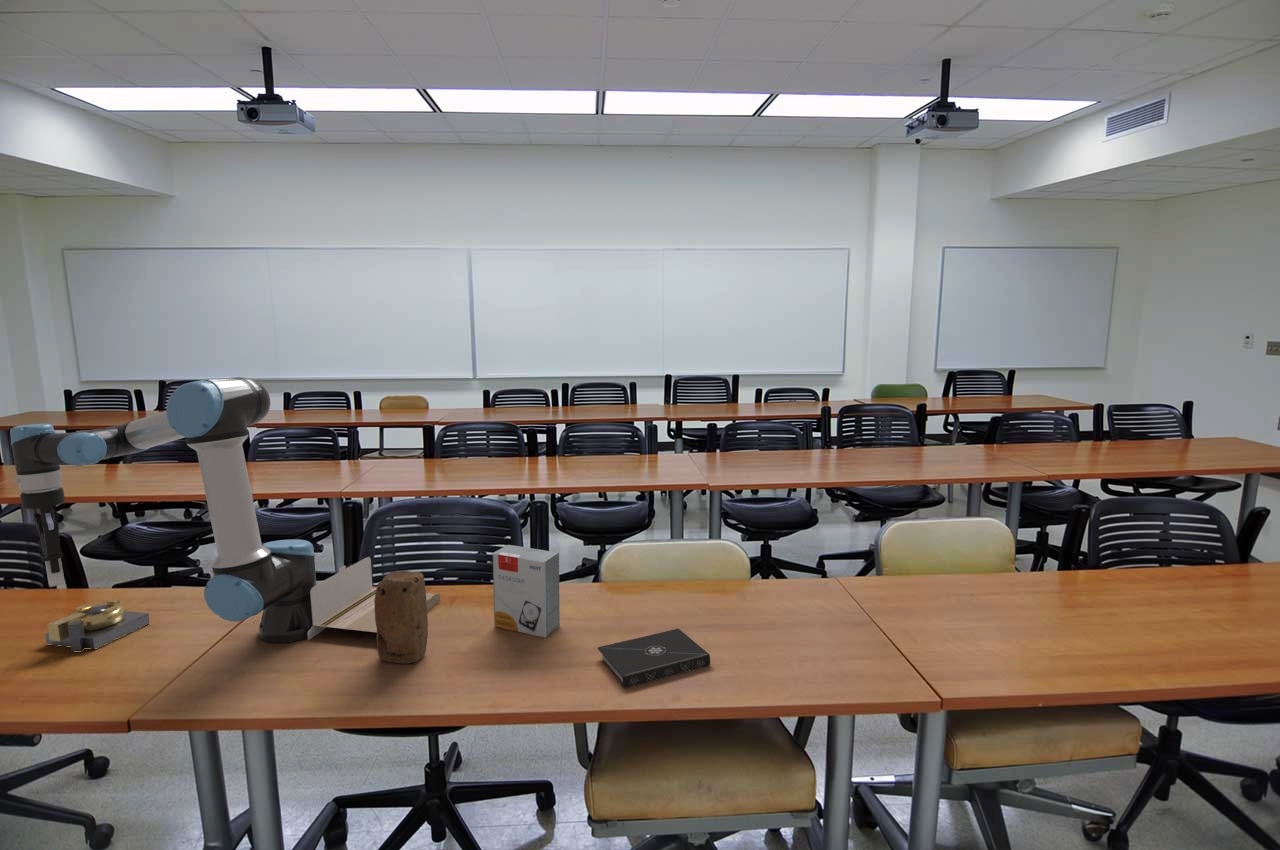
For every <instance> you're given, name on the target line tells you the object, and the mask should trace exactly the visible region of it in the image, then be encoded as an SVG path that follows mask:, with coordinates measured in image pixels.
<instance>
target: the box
mask: <svg viewBox="0 0 1280 850" xmlns="http://www.w3.org/2000/svg"><path fill="white" fill-rule="evenodd" d="M371 559H372V558H371V557H370V556H367V557H365V558H362V559H361V560H359V561H358V562H356V563H353V564H352V565H350V566H348V567H347V566H346V565H342V566H341V567H339V568H338V572H337V573H335V574H333V575H332V576H330V577H328V578H326V579H324V580H323V581H320V582H319V583H316V585H315V586H314V587H313V588H312V589H311V591H310V595H311V608H312V620H313V626H312V627H311V629H310V630H309V631H308V632H307V634H308V637H307V641H310V640H311V639H313V638H314V637H315V636H317V635H319V634H320V633H321V632H322V631H324V630H326V629H327V628H334V629H340V630H341V629H342V630H349V631H350V630H352V631H361V632H369V633H370V632H371V633H377V627H376V621H375V605H374V599H375V593H376V589H377V587H373V576H372V562H371V561H372V560H371ZM440 601H441V600H440V592H438V593H429V592H426V602H427V612H428V611H429V610H430V609H432V608H433V607H434V606H436V605H437V604H438V603H439V602H440Z"/></svg>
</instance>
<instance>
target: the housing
mask: <svg viewBox="0 0 1280 850" xmlns="http://www.w3.org/2000/svg"><path fill="white" fill-rule="evenodd" d="M123 611H124V618H123V619H122V620H121V621H119V622H117V623H115V624H113V625H110V626H107V627H104V628H100V629H96V630H90V631H84V624H83V621H73V622H72V623H70V624H69V625H68V631H69V638H67V639H64V640H62V641H52V640H50V638H49V631H48V632H46V633H45V634H44V637H45V642H46V643H45V644H46V645H47V644H52V645H61V646H71V648H70V652H74V651H82V650H83V649H84V648H91V649H95V648H98V647H100V646H102V645H104V644H106V643H109V642H111V641H113V640H114V639H116V638H119V637H121V636H123V635H125V634H128V633H130V632H132V631H134V630H136V631H138V630H137V629H138V628H140V627H142V626H145V625H146V624H149V623H150V616H149V615H150V614H149V612H138V611H129V610H123ZM149 625H150V624H149ZM145 627H146V626H145ZM134 632H135V631H134ZM132 633H133V632H132ZM130 634H131V633H130ZM128 635H129V634H128ZM113 642H114V641H113ZM111 643H112V642H111ZM109 644H110V643H109ZM82 652H83V651H82Z"/></svg>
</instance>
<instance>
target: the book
mask: <svg viewBox="0 0 1280 850" xmlns="http://www.w3.org/2000/svg"><path fill="white" fill-rule="evenodd" d="M597 649H598V651H599V652H600V653H601V655H602V659H603V661H604V662H605V663H606V664H607V666H609V668H610V669H611V670H612V672H613V673H615V674H616V676H617V678H619V680H620V681H621V682H622V688H623V689H628V688H631V687H634V685H635V686H639V685H641V684H642V683H643V684H646V683H650V682H653V680H654V681H657V680H660V678H661V679H664V677H665V678H668V677H667V676H669V677H672V676H675V675H676V676H677V675H680V674H682V673H683V674H684V673H687V672H690V671H689V670H691V671H694V669H695V670H697V669H702V668H705V666H706V667H709V666H708V665H711V655H710V653H708V652H707V650H705V649H704V648H702V647H701V646H700V645H699V644H697V642H696V641H694V640H693V639H692V638H691V637H689V636H688V635H687V634H686V633H685V632H683V630H682V629H680V628H676V629H675V628H674V629H671V630H666V631H661V632H657V633H654V634H649V635H644V636H639V637H637V638H632V639H627V640H623V641H618V642H613V643H610V644H606V645H602V646H598V647H597ZM701 667H702V668H701ZM686 671H687V672H686ZM679 673H680V674H679ZM656 679H657V680H656ZM649 681H650V682H649ZM638 684H639V685H638Z"/></svg>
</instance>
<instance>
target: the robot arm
mask: <svg viewBox="0 0 1280 850" xmlns="http://www.w3.org/2000/svg"><path fill="white" fill-rule="evenodd" d="M270 407H271V397H270V394H269V392H268V390H267V389H266V388H265V386H264V385H263V384H262V383H259V381H257V380H255V379H252V378H248V377H244V376H243V377H229V378H217V379H214V378H213V379H200V380H196V381H190V382H187V383H183V384H182V385H179V386H178V387H177V388H175V389H174V390H173V393H171V395H170V396H169V398H168V401H167V404H166V410H164V411H161V412H157V413H154V414H151V415H149V416H146V417H141V418H138V419H134V420H132V421H128V422H125V423H121V424H118V425H114V426H108V427H101V428H94V429H87V430H82V431H75V432H74V431H73V432H59V433H57V432H56V431H55V429H54V426H53V425H52V424H50V423H32V424H22V425H17V426H14V427H12V428H11V429H10V431H9V433H10V447H11V450H12V451H11V452H12V456H13V460H14V461H13V462H14V463H13V464H14V466H15V467H14V468H15V471H16V476H17V478H14V479H13V482H14V483H15V484H18V489H19V491H20V492H21V493H20V494H19V497H20V504H21V507H22V509H24V510H35V509H36V513H35V514H32V515H33V516H32V517H33V520H34V521H35V525H36V531H38V536H39V539H40V545H41V554H42V555H43V558H42V559H41V562H42V563H44V564H45V571H46V575H47V582H48V586H49V588H52V587H56V586H60V585H61V586H62V585H66V581H65V576H64V568H63V562H62V557H63V555H64V554H63V552H62V548H61V542H60V532H59V530H60V527H59V521H58V520H59V519H60V517H59V513H58V512H57V511H56V510H54V508H53V507H55V506H59V505H63V504H64V503H65V501H66V500H65V499H66V498H65V491H64V488H63V487H61V486H63V485H64V484H63V483H64V482H63V477H62V469H61V467H60V466H74V467H75V466H76V467H82V466H83V467H84V466H90V465H95V464H97V463H99V462H101V461H102V460H106V459H111V458H116V457H121V456H126V455H134V454H139V453H141V452H144V451H147V450H149V449H150V448H154V447H157V446H160V445H163V444H167V443H170V442H174V441H177V440H181V439H184V438H185V443H186V446H188V447H189V448H191V449H193V450H194V451H195V452H196V455H197V459H198V465H199V469H200V474H201V478H202V483H203V487H204V488H203V489H204V494H205V499H206V502H207V503H206V504H207V508H208V513H209V519H210V523H211V527H212V532H213V537H214V542H215V548H216V553H217V556H216V557H215V559H214V560H213V562H211V568H212V569H211V570H212V575H213V577H211V578H210V579H209V580H208V581H207V583H206V585H205V587H204V590H203V597H204V600H205V603H206V605H207V607H208V608H209V610H211V612H212V613H213V614H215V615H216V616H218V617H219V618H221V619H222V620H225V621H228V622H234V623H235V622H242V621H243V622H244V621H245V620H247V619H250V618H252V617H255V616H257V615H259V614H261V612H262V615H261V620H260V624H259V626H258V633H259V638H260V640H262V641H263V642H266V643H269V644H270V643H271V644H283V643H292V642H297V641H301V640H304V639H308V634H307V632H308V631H309V630H310V629H311V627H312V626H313V620H312V608H311V595H310V591H311V589H312V588H313V587H314V586H315V585H317V576H316V573H317V572H316V562H315V557H316V554H315V551H314V545H313V543H311V542H310V541H309V540H304V539H279V540H274V541H273V540H272V541H268V542H265V543H263V544H262V538H261V534H260V530H259V529H260V528H259V524H258V519H257V515H256V514H257V513H256V508H255V503H254V498H253V493H252V487H251V482H250V478H249V473H248V469H247V468H248V467H247V463H246V462H247V461H246V457H245V452H244V447H243V444H244V442H245V441H246V440H247V439H248V438H249V431H248V427H249V426H252V425H255V424H258V423H259V422H261V421H262V420H263V419H264V418H265V417H266V416H267V415H268V413H269V411H270Z"/></svg>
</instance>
